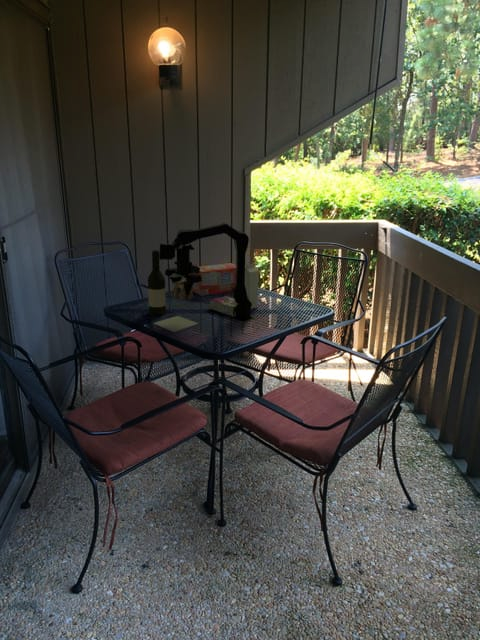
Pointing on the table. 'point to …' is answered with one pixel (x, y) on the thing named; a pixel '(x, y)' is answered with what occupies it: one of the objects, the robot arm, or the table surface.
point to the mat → (175, 323)
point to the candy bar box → (224, 305)
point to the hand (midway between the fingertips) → (183, 294)
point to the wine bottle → (156, 288)
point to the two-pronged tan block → (181, 290)
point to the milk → (252, 283)
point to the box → (215, 279)
